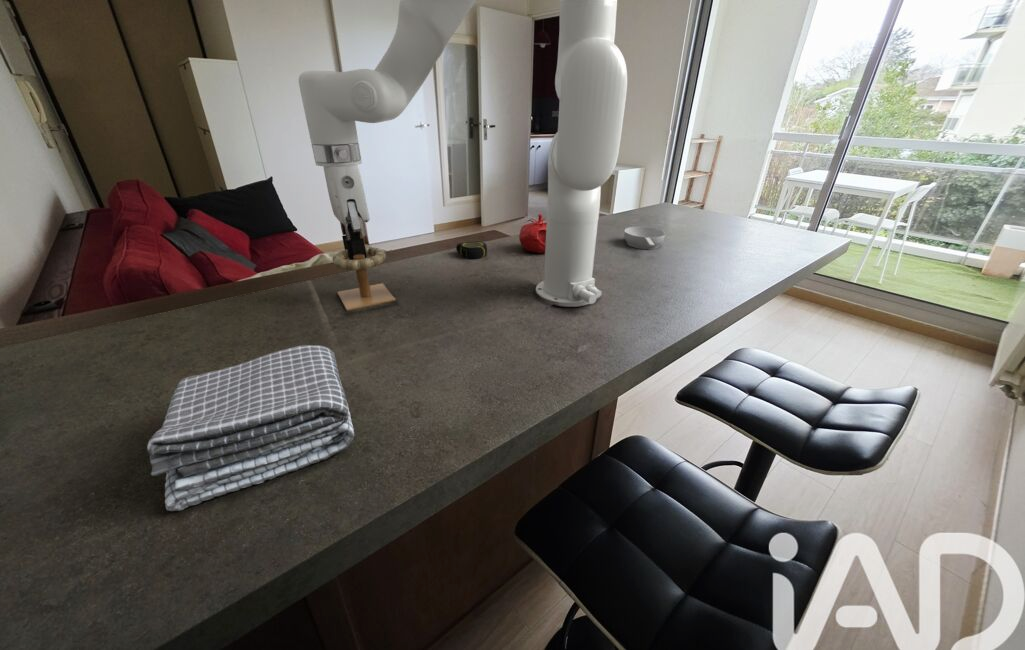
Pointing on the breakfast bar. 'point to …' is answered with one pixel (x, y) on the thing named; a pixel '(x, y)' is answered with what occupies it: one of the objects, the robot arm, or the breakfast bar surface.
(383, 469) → the breakfast bar surface
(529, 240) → the pomegranate
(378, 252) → the beige beaded ring
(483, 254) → the tape measure
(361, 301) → the ring toss peg
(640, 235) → the small pan
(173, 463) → the towel
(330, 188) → the robot arm
